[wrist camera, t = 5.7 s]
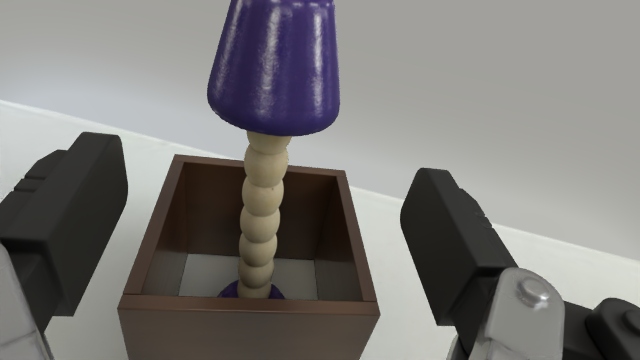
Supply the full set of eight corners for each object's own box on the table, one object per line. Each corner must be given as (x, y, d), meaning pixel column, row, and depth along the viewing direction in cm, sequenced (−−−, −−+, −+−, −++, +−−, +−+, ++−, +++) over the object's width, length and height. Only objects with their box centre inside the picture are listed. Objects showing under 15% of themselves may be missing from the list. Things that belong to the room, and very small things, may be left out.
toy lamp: (187, 308, 20) (173, -39, 11) (253, 264, 24) (288, -34, 14) (244, 372, 18) (293, 14, 9) (308, 315, 22) (397, 5, 12)
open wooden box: (137, 402, 17) (115, 308, 12) (179, 245, 24) (174, 153, 20) (341, 398, 18) (381, 315, 14) (322, 253, 25) (345, 170, 21)
